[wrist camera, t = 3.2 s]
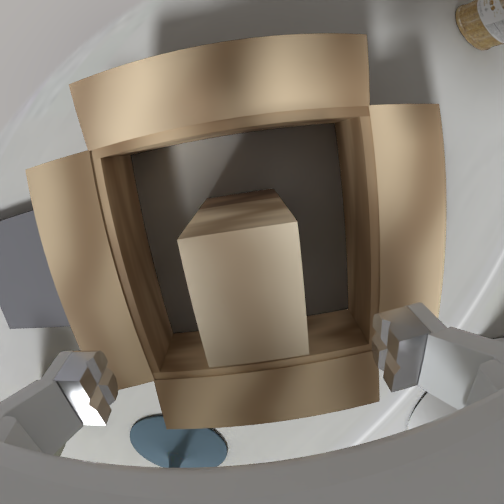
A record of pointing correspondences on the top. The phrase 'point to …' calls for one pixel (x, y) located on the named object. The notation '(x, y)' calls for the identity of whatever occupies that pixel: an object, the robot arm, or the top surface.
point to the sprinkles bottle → (482, 23)
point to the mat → (27, 277)
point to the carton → (227, 123)
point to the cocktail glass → (177, 445)
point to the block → (246, 279)
